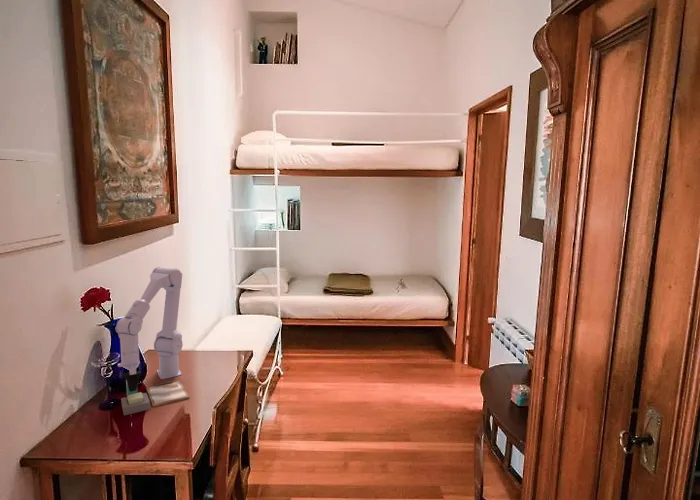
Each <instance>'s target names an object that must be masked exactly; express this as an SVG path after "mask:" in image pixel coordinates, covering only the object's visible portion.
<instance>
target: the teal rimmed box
mask: <svg viewBox="0 0 700 500" xmlns="http://www.w3.org/2000/svg"><path fill="white" fill-rule="evenodd" d="M125 382H126V383H125V384H126V396H127V395H131V394H136V393H139V391H138V388H137V389H136V391H131V392H130V391H129V388H128V383H127V381H126V380H125Z"/></svg>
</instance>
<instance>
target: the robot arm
mask: <svg viewBox="0 0 700 500" xmlns="http://www.w3.org/2000/svg"><path fill="white" fill-rule="evenodd" d="M149 278H150V281H149V283H148V285H147V287H146V288H145V290H144V292H143V293H142V295H141V298H140V299H137V300H135V301H134V302H133V303H132V306H130V308H129V309H128V311H127V313H126V314H125V316H124V317H122V318H120V319H119V320H118V321H117V323H116V326H115V328H114V329H115V332H116V333H117V334H118V335H117V336H118V338H119V339H120V340H119V342H120V345H119V346H120V360H121V361H120V363H117V367H118V368H121V367H123V368H125V369H127V370H129V372H127V373H124V372H122V375H123V377H124V379H125V382H126V381H127V383H128V388H129V391H130V392H131V391H136V389H137V390H138V383H139V379H140V376H141V375H142V371H141V370H138V371H137V368H138V367H139V365H140V364H141V361H140V350H139V346H140V344H139V333H140V332H141V330H142V327H143V325H142V324H143V322H144V318H145V317H146V315H147V314H148V312H149V311H150V309H151V306H150V303H151V302H152V301H153V299H154V298H155V296H156V295H157V294H158V292H160V290H161V289H162V288H163V289H164V290H165V297H164V298H165V300H164V309H163V318H162V319H163V320H162V327H161V330H159V332H157V333H156V336H155V340H154V342H153V349H154V351H156V353H157V355H158V368H159V369H157V370H156V373H157V375H158V377H159V379H160V380H166V379H170V378H174V377H175V378H176V377H179V376H182V372H181V370H180V366H179V365H180V364H179V353H180V352H181V351H182V348H183V335H182V333H180V332H179V331H178V329H177V327H178V317H179V307H180V297H181V296H180V295H181V289H182V281H183V273H182V272H181V270H180V269H179V268H171V267H161V266H157V267H155V268H153V270H152V273H150V275H149Z"/></svg>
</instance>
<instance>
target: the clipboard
mask: <svg viewBox="0 0 700 500" xmlns="http://www.w3.org/2000/svg"><path fill="white" fill-rule="evenodd" d="M145 389H146V393H147V395H148V398H149V401H150V404H151V406H152V408H154V407H159V406H163V405H168V404H171V403H176V402H180V401H184V400H188V399H190V396H189V393H188V392H187V390H186V388H185V387H184V385H183V383H182V381H181V380H176V381H172V380H170V381H165V382H160V383H156V384H154V385H152V386H147V387H145Z"/></svg>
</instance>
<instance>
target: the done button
mask: <svg viewBox="0 0 700 500" xmlns="http://www.w3.org/2000/svg"><path fill="white" fill-rule="evenodd" d="M142 394H143V392H141V391H140V392H138V393H136V394H131V395H127V394H126V397H127V398H128V405H131V404H135V403H139V402H143V395H142Z"/></svg>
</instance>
